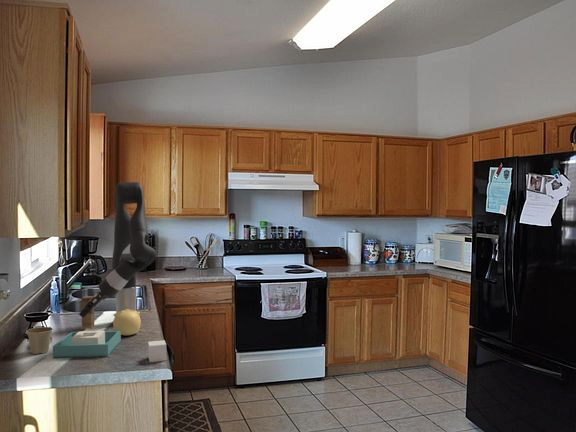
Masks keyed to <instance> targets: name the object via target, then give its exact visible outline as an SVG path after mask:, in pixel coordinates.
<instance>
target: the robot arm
mask: <svg viewBox="0 0 576 432" xmlns="http://www.w3.org/2000/svg"><path fill="white" fill-rule="evenodd" d="M129 204H133V205H134V204H136V208H135V210H134V212H133V214H132V216H131V214H130V213H129V212H128V211H127V209H126V208H125V205H129ZM145 207H146V205H145V195H144V187H143V185H142V183H140V182H138V181H137V182H136V181H130V182H129V181H127V182H119V183H117V184H116V187H115V219H114V220H115V221H114V229H113V230H114V231H113V232H114V234H113V235H114V236H113V238H114V239H113V241H114V242H113V252H112V258H111V268H112V269H111V270H112V271H111V272H110V273H109V274H108V275H107V276H106V277H105V278H103V280H102V281H101V282H99V283H98V285H97V286H98V289H99V291H97V292H96V293H95V294H93V295H94V297H93V298H92V299H91V300H90V301H89V303H88V304H87V305H86V306H85V308H84V309H83V310H82V309H81V311H80V312H79V313H78V315H79V316H80V317H81V318H82V317H84V316H85V315H86V314H87V313H88V312H89V311H91V310H92V309H93V308H94V309H96V308H97V307H98V306H99V305H101V304H102V303H103V302H104V301H106V299H107V298H110V299H112V298H115V313H118V312H120V311H124V310H126V309H129V310H134V311H137V282H136V281H137V277H136V274H138V273H139V272H141V271H142V270H144V269H146V268H147V267H148V266H150V265H151V264H152V263H153V262H154V261H155V259H156V256H157V252H156V250H155V248H153V247H151V246H150V245H149V244H147V243H146V242H148V241H149V238H150V237H149V235H150V234H149V230H148V225H147V221H146V208H145ZM128 247H129V253H124V251H125V250H126V249H127V248H128ZM89 305H91V307H90V306H89Z"/></svg>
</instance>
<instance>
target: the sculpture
mask: <svg viewBox="0 0 576 432" xmlns="http://www.w3.org/2000/svg"><path fill="white" fill-rule="evenodd" d="M140 314H141V312H140V311H137V310H136V311H134V310H129V309H126V310H124V311H120V312H118V313H116V312H115V313H113V316H114V318H113V320H112V321H113V322H112V324H113V331H121V336H131V335H135V334H137V333H139V331H140V328H141V324H142V323H141V317H140Z"/></svg>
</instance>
